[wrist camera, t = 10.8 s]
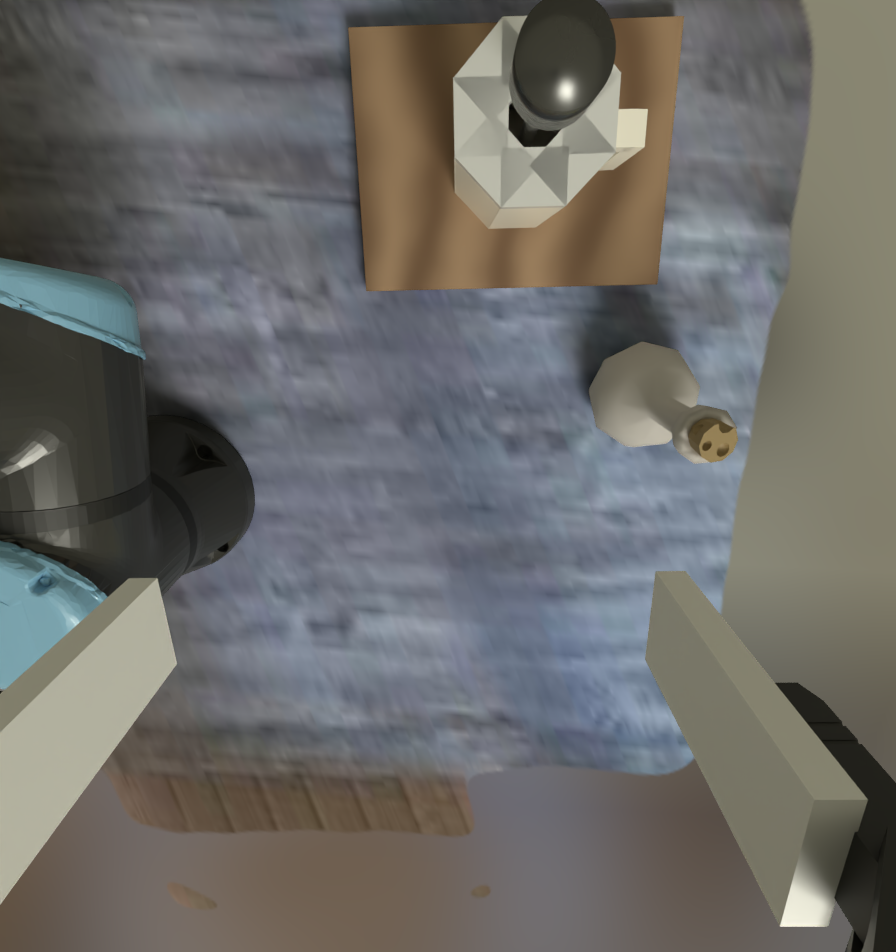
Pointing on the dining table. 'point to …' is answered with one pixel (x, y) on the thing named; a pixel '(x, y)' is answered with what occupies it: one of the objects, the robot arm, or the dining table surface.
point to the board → (432, 170)
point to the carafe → (550, 154)
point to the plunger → (560, 64)
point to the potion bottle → (658, 404)
